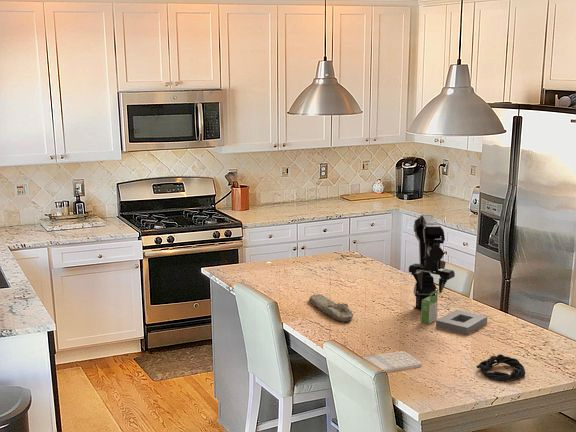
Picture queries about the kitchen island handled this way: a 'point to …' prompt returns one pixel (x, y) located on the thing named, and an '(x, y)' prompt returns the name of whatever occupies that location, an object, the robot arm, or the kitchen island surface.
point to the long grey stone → (332, 308)
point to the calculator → (394, 361)
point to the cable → (495, 375)
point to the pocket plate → (461, 322)
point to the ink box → (429, 308)
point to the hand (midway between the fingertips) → (430, 291)
